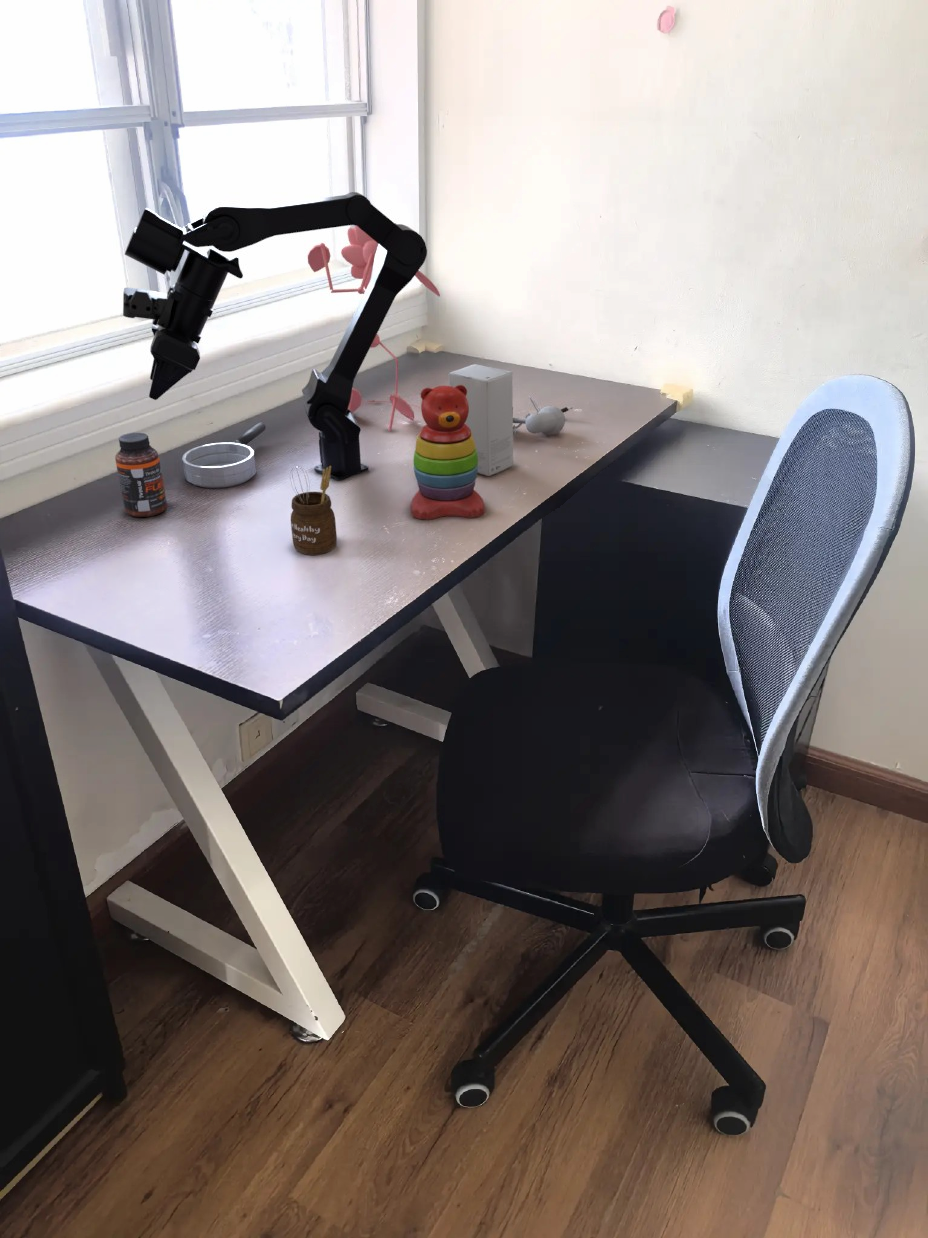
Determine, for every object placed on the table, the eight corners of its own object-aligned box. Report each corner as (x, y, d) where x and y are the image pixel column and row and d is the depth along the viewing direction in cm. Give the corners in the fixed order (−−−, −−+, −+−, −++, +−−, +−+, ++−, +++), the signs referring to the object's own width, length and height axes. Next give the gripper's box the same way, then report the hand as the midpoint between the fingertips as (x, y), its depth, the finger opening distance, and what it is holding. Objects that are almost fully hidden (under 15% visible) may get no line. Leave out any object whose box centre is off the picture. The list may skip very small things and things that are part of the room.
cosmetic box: (514, 467, 150) (516, 371, 142) (486, 478, 146) (487, 380, 138) (475, 454, 155) (476, 361, 147) (448, 465, 151) (447, 370, 143)
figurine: (430, 439, 161) (425, 223, 143) (304, 419, 170) (285, 214, 153) (466, 413, 173) (465, 211, 155) (347, 396, 182) (334, 203, 165)
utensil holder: (311, 533, 129) (303, 451, 123) (348, 543, 126) (341, 460, 120) (284, 549, 124) (274, 465, 118) (321, 560, 122) (313, 475, 115)
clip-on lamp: (523, 428, 175) (482, 436, 159) (524, 394, 173) (482, 398, 158) (582, 431, 170) (545, 440, 154) (583, 396, 168) (546, 401, 152)
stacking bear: (411, 521, 132) (407, 399, 123) (408, 493, 141) (404, 377, 132) (486, 517, 133) (487, 396, 124) (478, 490, 142) (479, 375, 133)
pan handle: (238, 453, 150) (236, 443, 149) (229, 452, 150) (227, 443, 150) (267, 430, 160) (266, 421, 159) (259, 429, 160) (258, 420, 159)
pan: (270, 475, 147) (267, 454, 145) (210, 494, 140) (207, 473, 139) (231, 457, 154) (228, 437, 152) (172, 475, 147) (168, 455, 145)
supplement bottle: (155, 520, 133) (141, 445, 127) (118, 517, 134) (102, 442, 128) (175, 503, 138) (162, 430, 132) (138, 500, 139) (124, 428, 133)
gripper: (141, 250, 134) (101, 347, 139) (137, 274, 118) (92, 382, 123) (214, 288, 139) (172, 380, 144) (219, 316, 123) (173, 418, 128)
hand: (152, 389), depth 135 cm, fingers open, 9 cm apart
